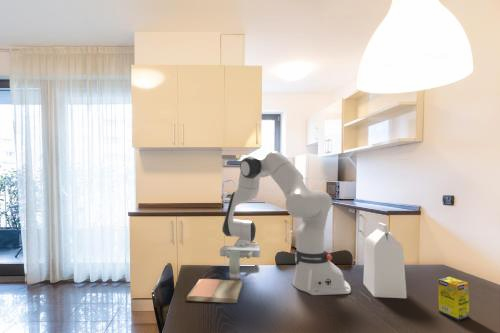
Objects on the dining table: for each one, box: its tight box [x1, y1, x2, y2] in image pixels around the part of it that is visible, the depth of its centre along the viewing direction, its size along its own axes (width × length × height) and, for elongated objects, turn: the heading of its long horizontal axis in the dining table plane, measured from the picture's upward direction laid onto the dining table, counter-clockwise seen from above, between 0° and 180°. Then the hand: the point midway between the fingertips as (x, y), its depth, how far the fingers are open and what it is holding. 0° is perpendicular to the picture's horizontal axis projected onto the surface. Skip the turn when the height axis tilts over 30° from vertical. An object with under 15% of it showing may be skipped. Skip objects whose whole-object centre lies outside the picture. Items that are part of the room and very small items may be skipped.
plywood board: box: [186, 278, 243, 304], centre depth 101 cm, size 18×16×2 cm
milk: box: [363, 222, 408, 299], centre depth 103 cm, size 12×12×26 cm
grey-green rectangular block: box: [228, 250, 241, 281], centre depth 113 cm, size 4×4×12 cm
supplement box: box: [437, 276, 470, 322], centre depth 84 cm, size 6×6×11 cm
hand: (238, 256), depth 124 cm, fingers open, 8 cm apart
